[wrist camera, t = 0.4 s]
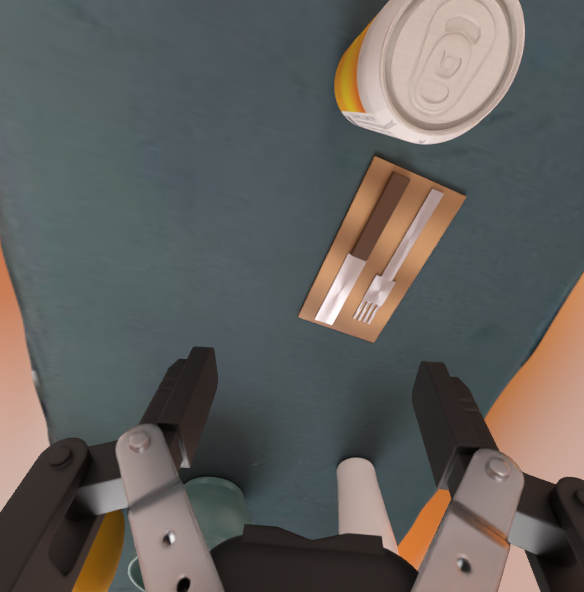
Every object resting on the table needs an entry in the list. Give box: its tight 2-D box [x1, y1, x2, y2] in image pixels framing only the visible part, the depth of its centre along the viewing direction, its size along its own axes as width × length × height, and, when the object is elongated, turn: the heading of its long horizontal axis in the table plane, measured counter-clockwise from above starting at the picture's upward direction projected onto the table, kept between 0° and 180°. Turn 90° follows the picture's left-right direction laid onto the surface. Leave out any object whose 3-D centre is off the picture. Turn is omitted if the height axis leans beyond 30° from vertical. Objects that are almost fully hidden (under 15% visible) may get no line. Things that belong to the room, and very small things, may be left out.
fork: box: [352, 188, 444, 324], centre depth 33 cm, size 14×2×1 cm, turn 158°
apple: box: [72, 509, 125, 592], centre depth 48 cm, size 11×11×13 cm
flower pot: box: [128, 477, 254, 592], centre depth 47 cm, size 16×16×11 cm
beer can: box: [334, 0, 525, 144], centre depth 19 cm, size 6×6×15 cm
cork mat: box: [298, 156, 466, 343], centre depth 33 cm, size 17×9×1 cm, turn 158°
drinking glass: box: [337, 457, 400, 556], centre depth 42 cm, size 7×7×15 cm
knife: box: [315, 171, 411, 325], centre depth 32 cm, size 16×2×1 cm, turn 158°
